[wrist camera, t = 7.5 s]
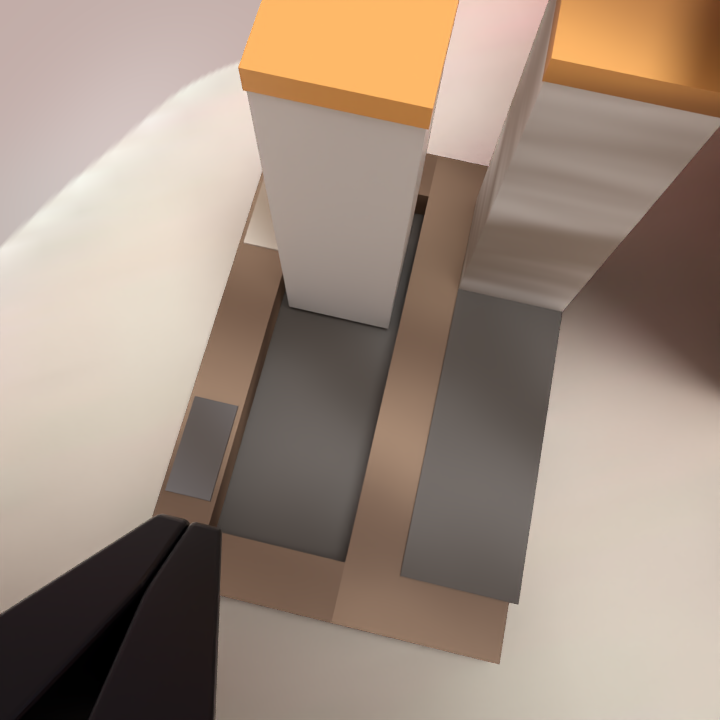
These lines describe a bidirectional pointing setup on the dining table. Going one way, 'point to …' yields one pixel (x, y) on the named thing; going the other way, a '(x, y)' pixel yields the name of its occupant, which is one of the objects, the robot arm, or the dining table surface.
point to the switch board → (439, 348)
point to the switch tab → (344, 140)
